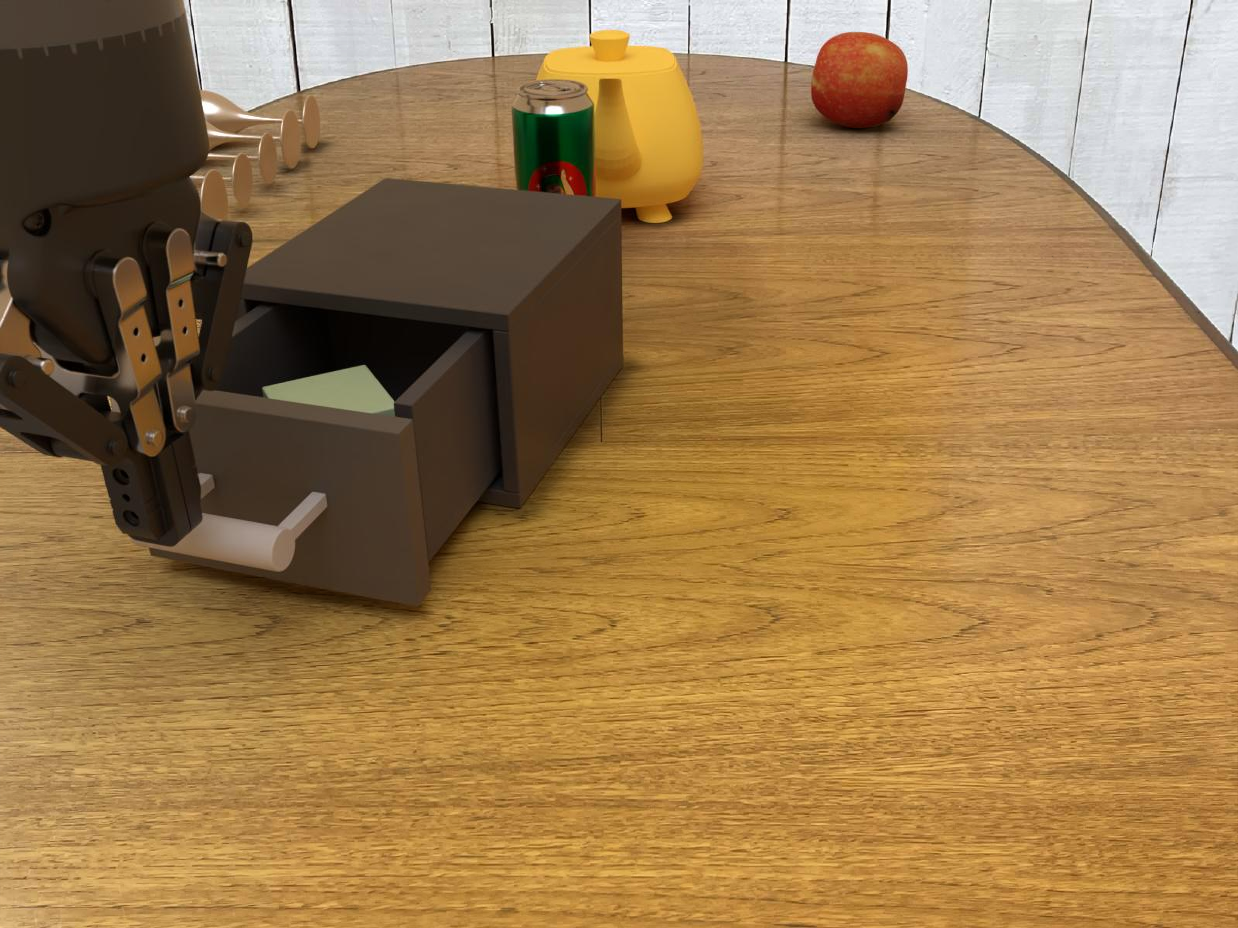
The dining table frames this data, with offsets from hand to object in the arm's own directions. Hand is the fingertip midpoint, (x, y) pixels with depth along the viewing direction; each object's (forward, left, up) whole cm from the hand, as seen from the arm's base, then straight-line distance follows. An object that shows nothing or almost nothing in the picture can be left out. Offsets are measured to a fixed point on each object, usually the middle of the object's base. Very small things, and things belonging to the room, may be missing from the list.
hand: (165, 532), depth 43 cm
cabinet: (+16, +16, -7) cm, 24 cm away
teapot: (+38, +41, -7) cm, 56 cm away
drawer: (+8, +8, -6) cm, 12 cm away
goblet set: (+17, +58, -4) cm, 60 cm away
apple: (+67, +50, -7) cm, 84 cm away
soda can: (+29, +31, -7) cm, 43 cm away
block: (+8, +8, -5) cm, 12 cm away
